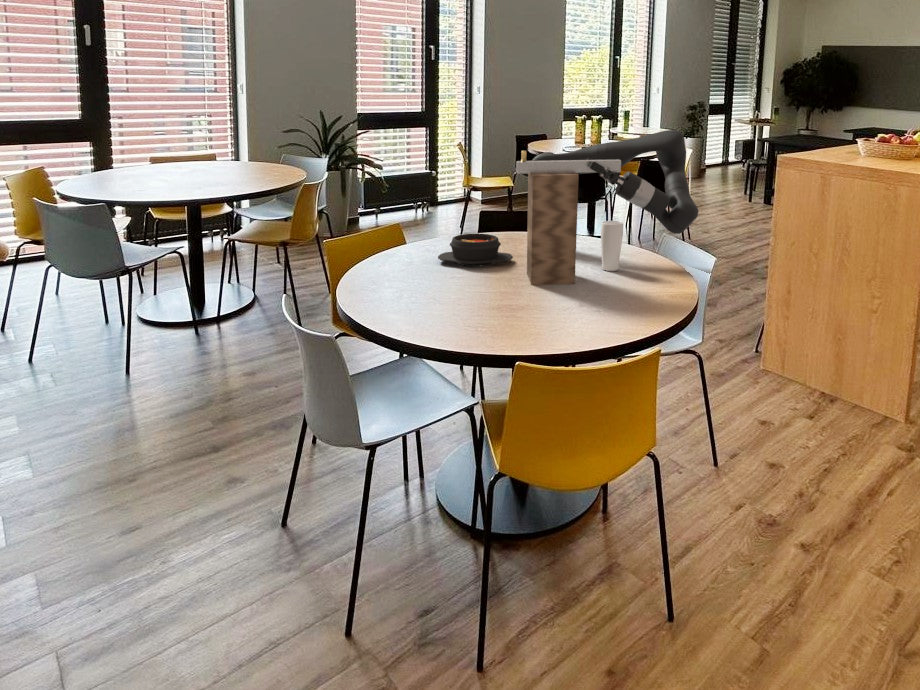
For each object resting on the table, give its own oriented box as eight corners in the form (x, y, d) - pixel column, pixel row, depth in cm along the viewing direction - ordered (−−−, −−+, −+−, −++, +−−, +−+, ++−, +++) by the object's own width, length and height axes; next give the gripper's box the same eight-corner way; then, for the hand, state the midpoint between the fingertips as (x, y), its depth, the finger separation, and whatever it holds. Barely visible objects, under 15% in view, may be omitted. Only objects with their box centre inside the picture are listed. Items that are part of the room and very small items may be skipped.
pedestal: (531, 284, 236) (532, 175, 225) (526, 274, 248) (528, 169, 238) (574, 283, 236) (578, 174, 226) (568, 273, 248) (571, 169, 238)
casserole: (515, 257, 271) (515, 232, 268) (510, 270, 254) (510, 244, 251) (442, 255, 275) (442, 231, 272) (433, 268, 257) (432, 242, 254)
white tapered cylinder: (597, 267, 255) (599, 220, 250) (617, 266, 256) (620, 220, 251) (602, 272, 249) (604, 224, 244) (623, 271, 249) (626, 224, 244)
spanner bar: (517, 173, 230) (517, 151, 228) (516, 172, 233) (516, 150, 231) (620, 171, 230) (621, 150, 228) (618, 170, 233) (619, 148, 231)
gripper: (636, 175, 239) (591, 148, 237) (648, 182, 226) (600, 153, 223) (623, 197, 241) (577, 171, 239) (633, 205, 228) (585, 177, 225)
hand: (588, 162), depth 231 cm, fingers open, 8 cm apart
